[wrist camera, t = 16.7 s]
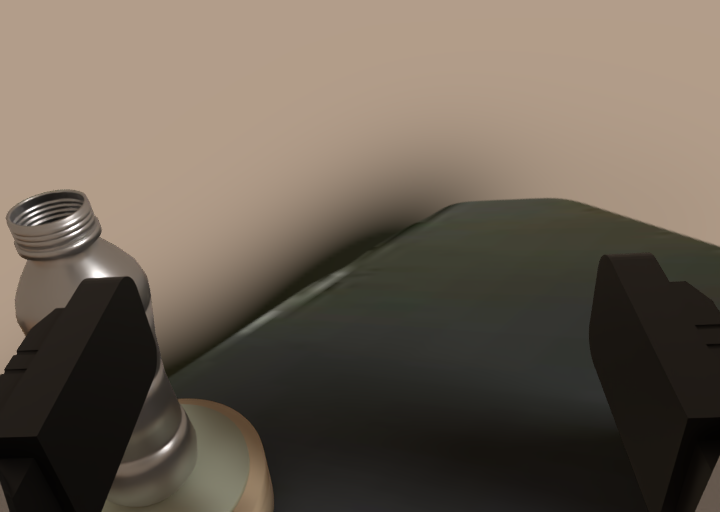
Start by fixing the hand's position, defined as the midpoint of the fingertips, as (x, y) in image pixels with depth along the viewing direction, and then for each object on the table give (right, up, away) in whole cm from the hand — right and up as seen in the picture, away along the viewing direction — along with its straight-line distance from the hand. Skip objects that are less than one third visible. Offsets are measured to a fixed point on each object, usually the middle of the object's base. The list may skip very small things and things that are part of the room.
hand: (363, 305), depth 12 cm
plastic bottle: (-13, -13, +31) cm, 37 cm away
